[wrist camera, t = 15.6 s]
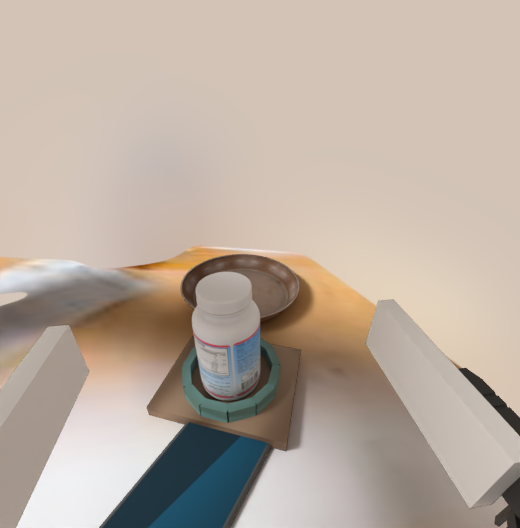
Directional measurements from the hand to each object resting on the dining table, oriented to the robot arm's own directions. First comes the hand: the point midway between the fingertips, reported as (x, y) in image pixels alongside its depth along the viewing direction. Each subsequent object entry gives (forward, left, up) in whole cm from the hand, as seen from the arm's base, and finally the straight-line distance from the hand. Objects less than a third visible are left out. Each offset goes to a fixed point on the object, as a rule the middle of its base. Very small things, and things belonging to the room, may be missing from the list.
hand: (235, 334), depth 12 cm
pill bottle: (-4, +9, -15) cm, 18 cm away
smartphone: (-4, 0, -17) cm, 17 cm away
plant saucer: (-8, +25, -17) cm, 31 cm away
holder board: (-4, +9, -16) cm, 19 cm away
